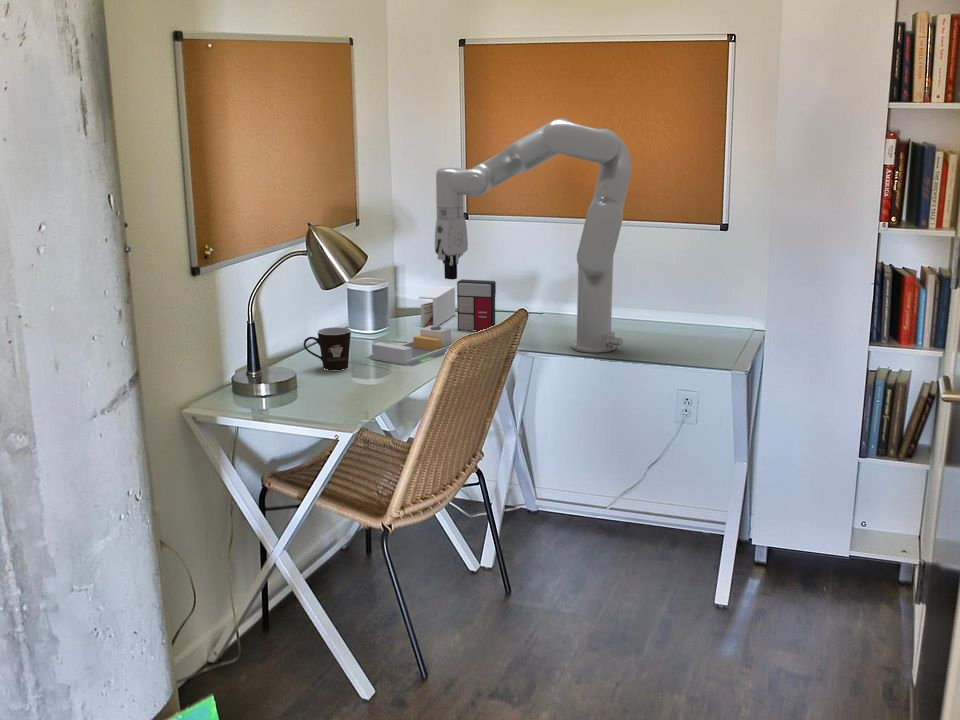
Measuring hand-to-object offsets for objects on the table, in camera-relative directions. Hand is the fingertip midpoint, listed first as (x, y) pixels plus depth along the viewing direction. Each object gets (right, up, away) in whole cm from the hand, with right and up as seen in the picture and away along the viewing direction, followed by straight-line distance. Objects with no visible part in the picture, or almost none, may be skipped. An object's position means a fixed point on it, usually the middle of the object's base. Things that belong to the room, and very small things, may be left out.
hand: (450, 278), depth 301 cm
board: (-9, -22, -8) cm, 25 cm away
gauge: (-4, -19, -2) cm, 19 cm away
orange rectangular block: (-6, -20, -5) cm, 21 cm away
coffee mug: (-31, -25, -19) cm, 44 cm away
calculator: (+7, -14, +21) cm, 27 cm away
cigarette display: (-5, -11, +34) cm, 36 cm away
